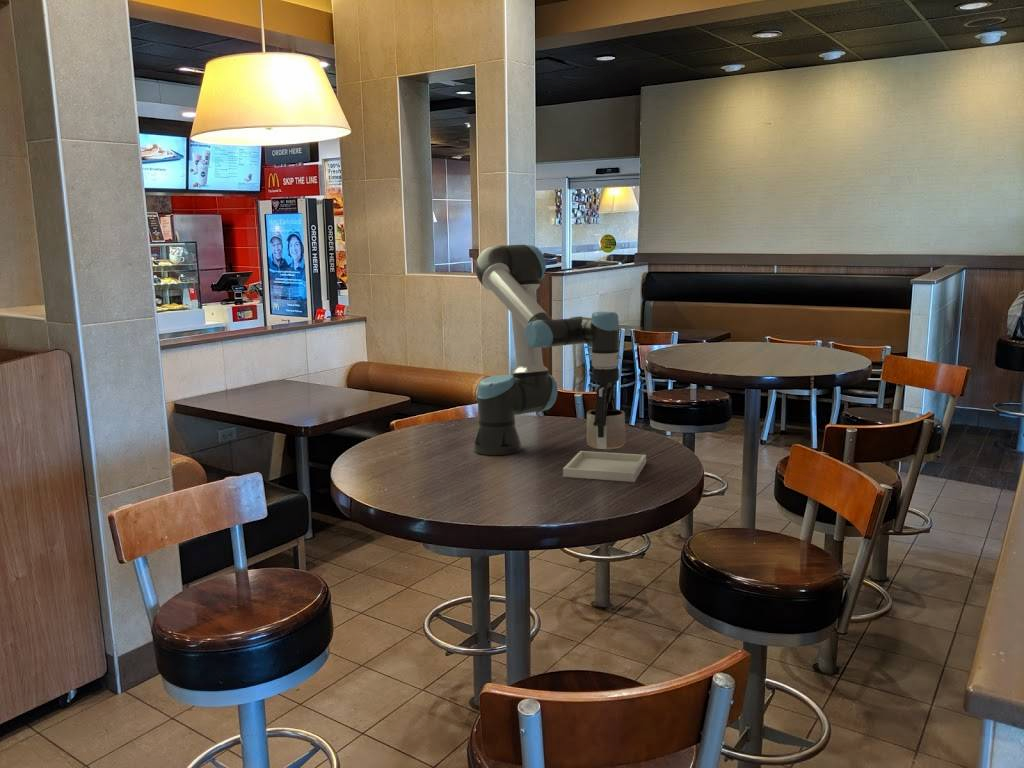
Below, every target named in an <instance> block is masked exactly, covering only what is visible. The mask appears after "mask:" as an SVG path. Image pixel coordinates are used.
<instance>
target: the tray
mask: <svg viewBox="0 0 1024 768" xmlns="http://www.w3.org/2000/svg"><path fill="white" fill-rule="evenodd" d="M646 464H647V454H637V453H624V452H623V453H622V452H606V451H587V450H579V451H578V453H576V455H574V456H573V458H571V459H570V461H569V462H567V463H566V465H564V467H563V468H562V477H563V478H573V479H577V478H578V479H589V480H604V481H614V482H615V481H616V482H617V481H618V482H627V483H628V482H631V483H635V482H636V480H637V479H638V477H639V476H640V473H641V472H642V470H643V469H644V467H645V466H646Z"/></svg>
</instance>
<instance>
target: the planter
mask: <svg viewBox="0 0 1024 768" xmlns="http://www.w3.org/2000/svg"><path fill="white" fill-rule="evenodd" d="M595 410H596V408H595V409H590V410H588V411H587V412H586V444H587V445H588V446H589V447H590V448H594V449H600V450H602V449H601V448H597V430H596V426H594V425H593V423H594V422H595ZM625 414H626V413H625V411H624V410H621V409H617V408H616V409H607V416H606V425H607V448H606V449H605V450H613V449H619V448H621V447H623V446H624V445H625V444H626V423H625V422H626V419H625V418H626V415H625ZM599 421H602V420H599Z"/></svg>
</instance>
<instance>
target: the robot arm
mask: <svg viewBox="0 0 1024 768" xmlns="http://www.w3.org/2000/svg"><path fill="white" fill-rule="evenodd" d="M546 270H547V264H546V260H545V256H544V254H543V252H542V250H539V247H537V246H535V245H532V244H509V245H508V244H507V245H501V244H500V245H491V246H489V247H487V248H484V249H483V250H482V252H481V253H480V254H479V255H478V257H477V260H476V262H475V273H476V275H475V276H476V277H477V279H478V280H477V281H479V283H480V284H481V285H482V286H483V287H484V289H485V290H487V291H491V292H492V293H493V294H494V295H495V296H496V297H497V298H498V300H499V301H500V302H501V303H502V304H503V305H504V306H505V307H506V309H508V311H509V312H510V313H511V320H512V321H511V322H512V324H511V325H512V332H513V340H514V341H513V343H514V352H515V354H514V355H515V363H516V368H515V369H514V370H513V371H512V375H511V374H500V375H498V374H496V375H491V376H488V377H484V378H483V379H481V380H480V381H479V382H478V384H477V394H476V396H477V417H478V428H477V432H476V435H475V438H474V441H473V451H474V452H475V453H476V454H480V455H484V456H507V455H511V454H516V453H518V452H520V451H521V450H522V442H521V439H520V436H519V433H518V430H517V427H516V416H518V415H524V414H531V413H541V412H542V411H543V412H544V411H548V410H549V409H551V408H552V407H553V406H554V404H555V403H556V401H557V397H558V390H559V389H558V384H557V383H558V382H557V380H555V379H556V378H555V377H554V376H553V375H552V374H549V369H548V367H546V366H545V365H544V361H543V352H542V349H545V348H552V347H558V346H559V347H560V346H570V345H571V346H572V345H581V344H583V345H591V366H592V368H591V380H592V381H593V382H595V383H599V385H598V387H597V388H596V390H595V393H596V394H595V409H596V410H595V409H594V410H595V422H594V423H593V425H594V426H596V430H597V448H601V449H600V450H607V449H606V448H607V425H606V416H607V409H617V405H616V392H615V385H616V384H615V383H616V382H618V381H619V379H620V369H619V367H618V366H619V363H620V362H619V361H620V359H622V356H621V355H620V354H619V350H620V340H619V339H620V321H619V314H618V313H617V312H615V311H595V312H593V313H592V314H591V317H584V316H571V317H569V318H562V319H561V318H560V319H559V318H557V319H553V318H552V317H551V316H550V315H549V314H548V313H547V312H546V310H544V309H543V308H542V307H541V305H540V304H539V303H538V300H537V299H538V297H537V290H538V289H539V288H540V286H541V280H543V279H544V278H545V275H546ZM599 420H602V421H599ZM597 448H596V449H597Z"/></svg>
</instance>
